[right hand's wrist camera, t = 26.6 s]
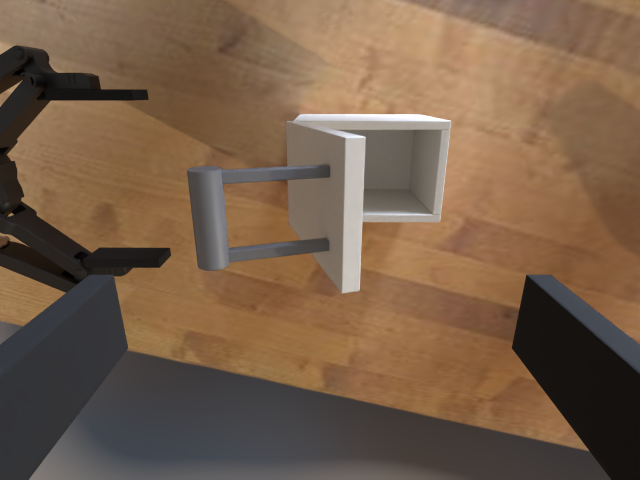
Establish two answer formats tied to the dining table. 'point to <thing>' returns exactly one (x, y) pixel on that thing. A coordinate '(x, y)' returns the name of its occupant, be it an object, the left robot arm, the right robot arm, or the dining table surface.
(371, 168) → the chest
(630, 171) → the dining table surface
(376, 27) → the dining table surface
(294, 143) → the cabinet door with handle
